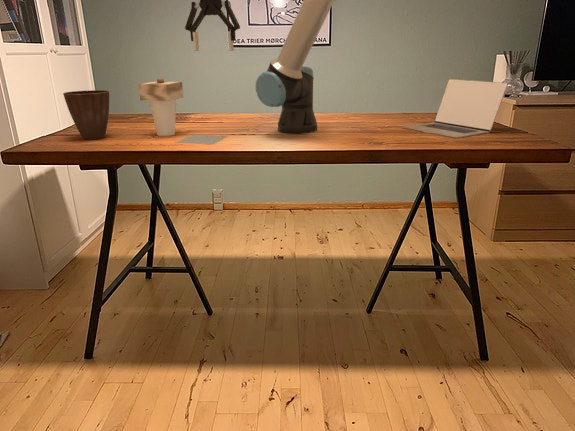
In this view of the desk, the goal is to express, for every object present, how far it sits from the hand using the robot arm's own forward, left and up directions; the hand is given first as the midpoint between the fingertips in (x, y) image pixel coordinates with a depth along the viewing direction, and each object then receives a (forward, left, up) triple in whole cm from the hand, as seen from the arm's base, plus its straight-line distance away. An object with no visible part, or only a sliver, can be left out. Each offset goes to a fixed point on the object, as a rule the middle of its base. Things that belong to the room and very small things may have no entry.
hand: (213, 51), depth 167 cm
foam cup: (+15, +14, -29) cm, 35 cm away
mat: (-2, +20, -29) cm, 35 cm away
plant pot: (+39, +23, -29) cm, 54 cm away
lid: (+15, +14, -16) cm, 26 cm away
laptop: (-86, -16, -29) cm, 92 cm away
